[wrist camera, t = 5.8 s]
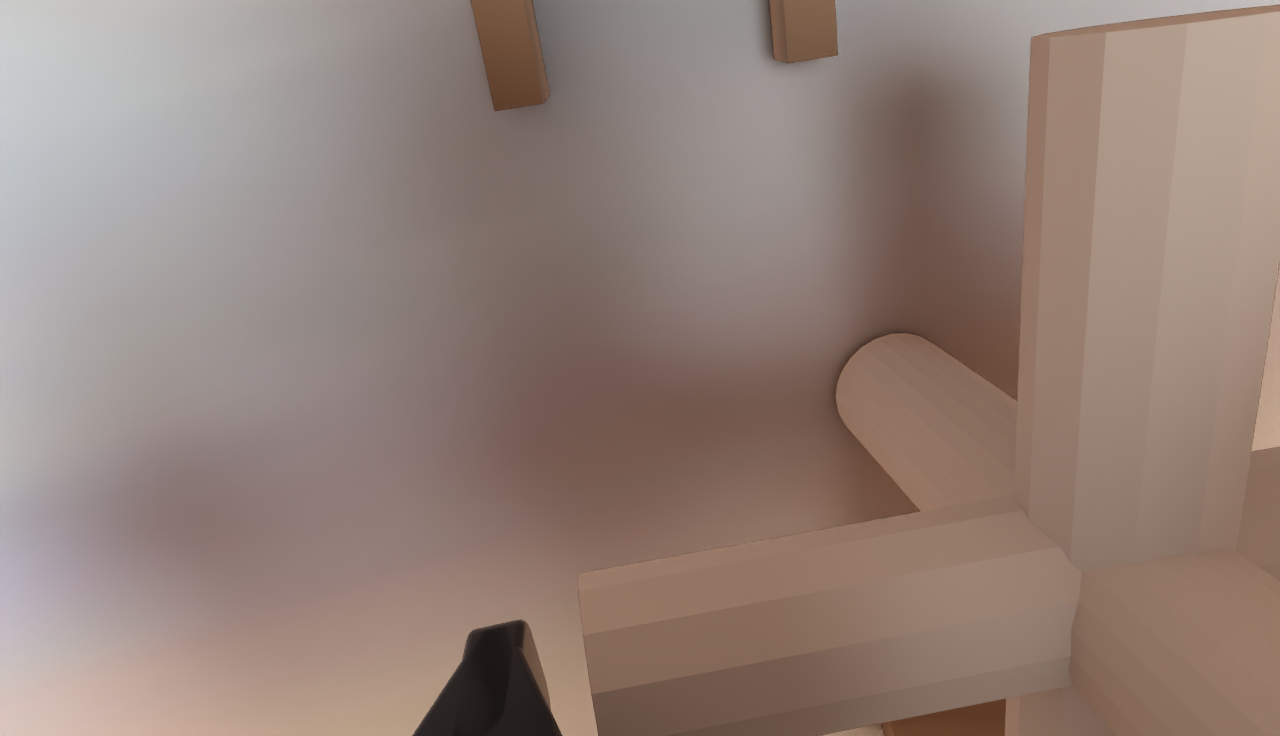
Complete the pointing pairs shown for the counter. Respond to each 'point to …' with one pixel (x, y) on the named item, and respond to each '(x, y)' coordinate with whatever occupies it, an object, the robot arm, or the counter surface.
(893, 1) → the counter surface
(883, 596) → the pipe connector
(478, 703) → the robot arm
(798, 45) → the dock cradle
